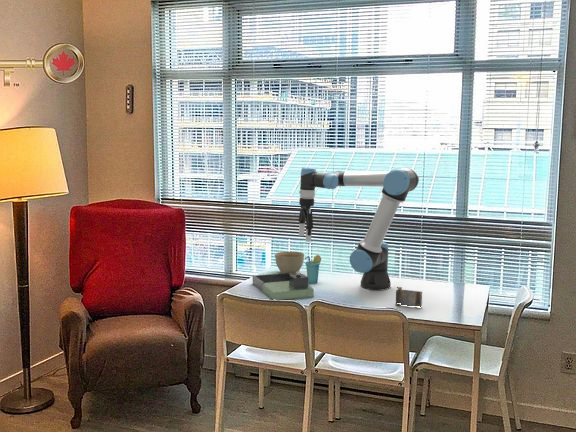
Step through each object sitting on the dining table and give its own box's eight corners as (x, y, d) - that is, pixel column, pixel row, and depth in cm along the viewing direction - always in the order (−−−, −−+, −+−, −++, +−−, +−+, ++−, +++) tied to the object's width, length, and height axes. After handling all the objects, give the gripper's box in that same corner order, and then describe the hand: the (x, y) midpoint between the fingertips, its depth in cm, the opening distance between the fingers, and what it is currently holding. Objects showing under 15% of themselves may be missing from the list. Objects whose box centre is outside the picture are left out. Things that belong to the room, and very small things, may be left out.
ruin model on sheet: (395, 307, 294) (396, 286, 292) (396, 305, 296) (397, 284, 295) (420, 310, 289) (421, 288, 288) (421, 308, 292) (422, 287, 291)
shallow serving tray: (313, 296, 308) (313, 274, 306) (274, 300, 301) (274, 277, 299) (289, 280, 338) (289, 260, 337) (252, 283, 331) (252, 263, 330)
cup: (311, 286, 326) (311, 257, 324) (298, 284, 330) (298, 256, 328) (324, 281, 338) (325, 253, 336) (311, 279, 342) (312, 251, 340)
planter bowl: (307, 271, 360) (307, 252, 358) (299, 278, 344) (299, 258, 343) (280, 269, 365) (280, 250, 363) (270, 275, 349) (270, 255, 348)
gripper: (293, 194, 338) (292, 233, 342) (306, 201, 315) (303, 244, 318) (307, 194, 340) (305, 233, 344) (320, 201, 316) (318, 243, 320)
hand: (304, 238), depth 331 cm, fingers open, 13 cm apart
